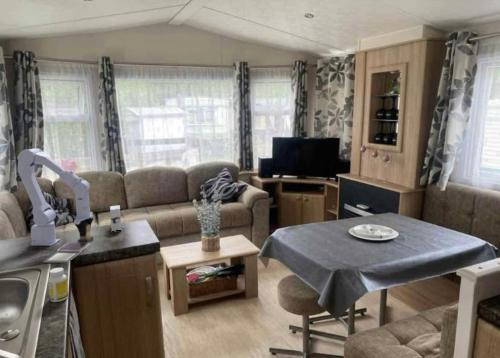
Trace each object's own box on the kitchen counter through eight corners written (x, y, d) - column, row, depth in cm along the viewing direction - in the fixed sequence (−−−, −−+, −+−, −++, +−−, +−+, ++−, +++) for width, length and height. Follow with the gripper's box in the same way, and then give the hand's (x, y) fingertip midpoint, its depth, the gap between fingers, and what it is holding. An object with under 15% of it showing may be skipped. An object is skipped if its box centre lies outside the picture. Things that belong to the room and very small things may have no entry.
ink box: (111, 227, 196) (109, 205, 194) (121, 226, 198) (119, 205, 196) (111, 232, 188) (109, 209, 186) (121, 231, 190) (120, 208, 188)
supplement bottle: (71, 294, 123) (68, 266, 121) (63, 302, 117) (61, 273, 116) (54, 294, 123) (52, 266, 121) (46, 302, 117) (43, 273, 116)
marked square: (43, 262, 149) (43, 261, 149) (56, 253, 159) (56, 252, 159) (67, 262, 149) (67, 261, 149) (79, 253, 159) (79, 252, 159)
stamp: (77, 243, 171) (76, 227, 170) (82, 240, 176) (81, 223, 175) (88, 243, 171) (87, 227, 170) (93, 240, 176) (92, 223, 175)
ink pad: (57, 252, 160) (56, 249, 160) (68, 244, 170) (68, 241, 169) (80, 252, 160) (79, 249, 159) (90, 244, 169) (90, 241, 169)
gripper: (84, 210, 163) (86, 240, 166) (98, 203, 178) (100, 230, 180) (68, 210, 163) (71, 239, 166) (83, 202, 178) (85, 230, 180)
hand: (85, 234), depth 173 cm, fingers closed on stamp, 3 cm apart
